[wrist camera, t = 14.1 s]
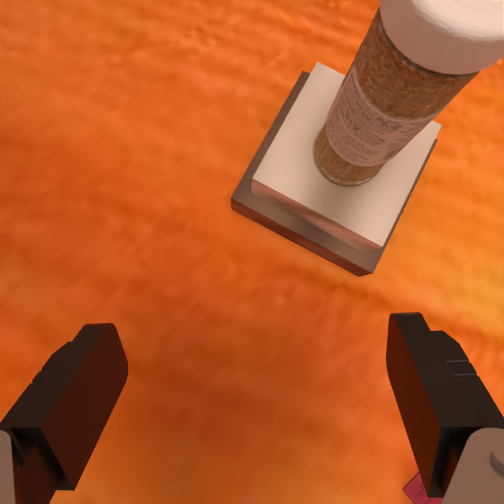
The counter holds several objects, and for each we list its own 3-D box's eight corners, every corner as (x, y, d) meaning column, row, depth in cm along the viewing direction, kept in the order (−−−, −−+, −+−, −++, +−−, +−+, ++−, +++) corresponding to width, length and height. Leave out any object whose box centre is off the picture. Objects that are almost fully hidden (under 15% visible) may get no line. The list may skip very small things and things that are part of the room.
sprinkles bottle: (361, 109, 24) (512, -134, 11) (395, 170, 24) (598, -5, 10) (298, 137, 24) (374, -78, 10) (331, 201, 23) (456, 59, 10)
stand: (231, 209, 29) (230, 184, 23) (296, 93, 31) (310, 42, 25) (358, 276, 29) (390, 269, 23) (417, 156, 30) (461, 119, 24)
